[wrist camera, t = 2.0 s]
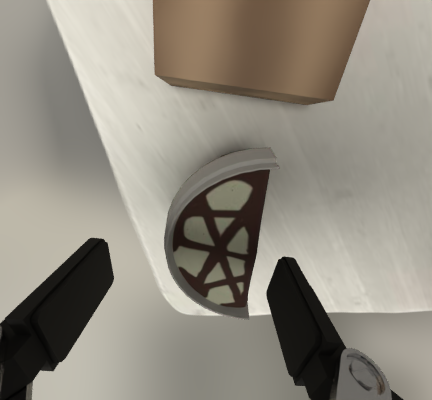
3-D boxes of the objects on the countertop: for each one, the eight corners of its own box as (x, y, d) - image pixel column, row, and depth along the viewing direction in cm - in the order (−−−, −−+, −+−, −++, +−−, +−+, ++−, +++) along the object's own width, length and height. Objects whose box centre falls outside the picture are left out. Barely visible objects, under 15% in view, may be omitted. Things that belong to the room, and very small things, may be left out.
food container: (185, 132, 16) (139, 148, 7) (249, 134, 16) (282, 154, 7) (189, 236, 22) (165, 319, 13) (237, 238, 22) (248, 324, 13)
